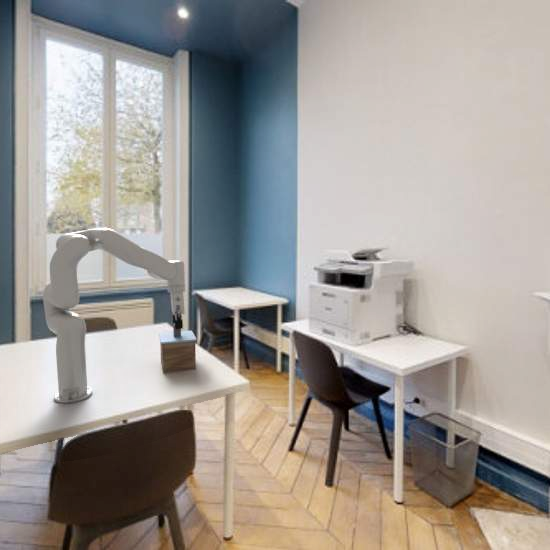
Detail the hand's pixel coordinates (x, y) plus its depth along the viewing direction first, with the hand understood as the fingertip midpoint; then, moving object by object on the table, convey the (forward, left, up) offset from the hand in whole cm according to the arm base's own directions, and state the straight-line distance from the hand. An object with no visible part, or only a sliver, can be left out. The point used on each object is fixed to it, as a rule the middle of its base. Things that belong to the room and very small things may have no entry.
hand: (177, 325), depth 176 cm
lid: (0, 0, -5) cm, 5 cm away
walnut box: (0, 0, -19) cm, 18 cm away
